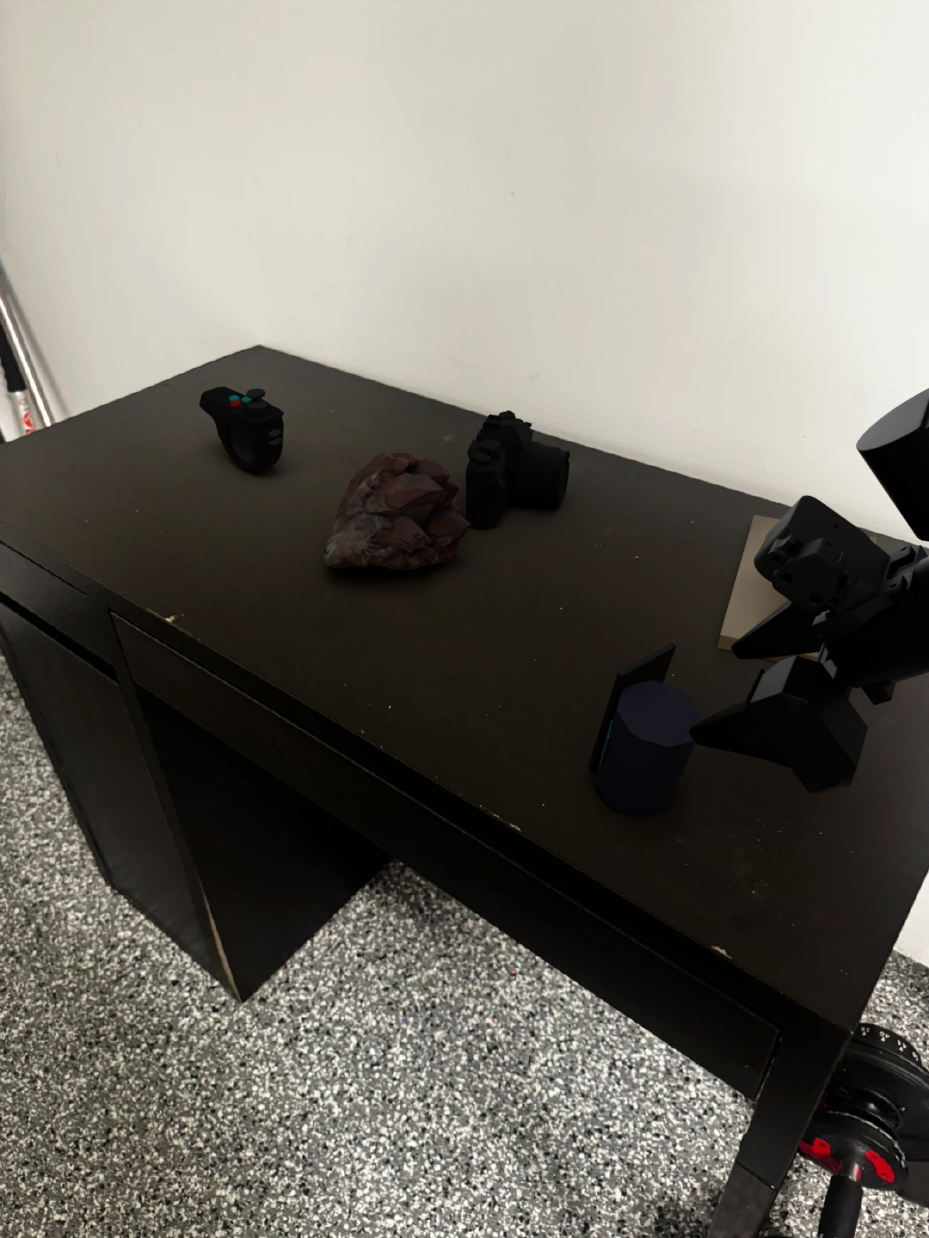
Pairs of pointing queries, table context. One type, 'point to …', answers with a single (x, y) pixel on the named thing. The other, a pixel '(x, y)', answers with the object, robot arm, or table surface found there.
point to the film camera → (511, 470)
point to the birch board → (753, 592)
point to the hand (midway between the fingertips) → (715, 692)
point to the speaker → (644, 737)
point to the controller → (246, 426)
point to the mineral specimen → (397, 516)
